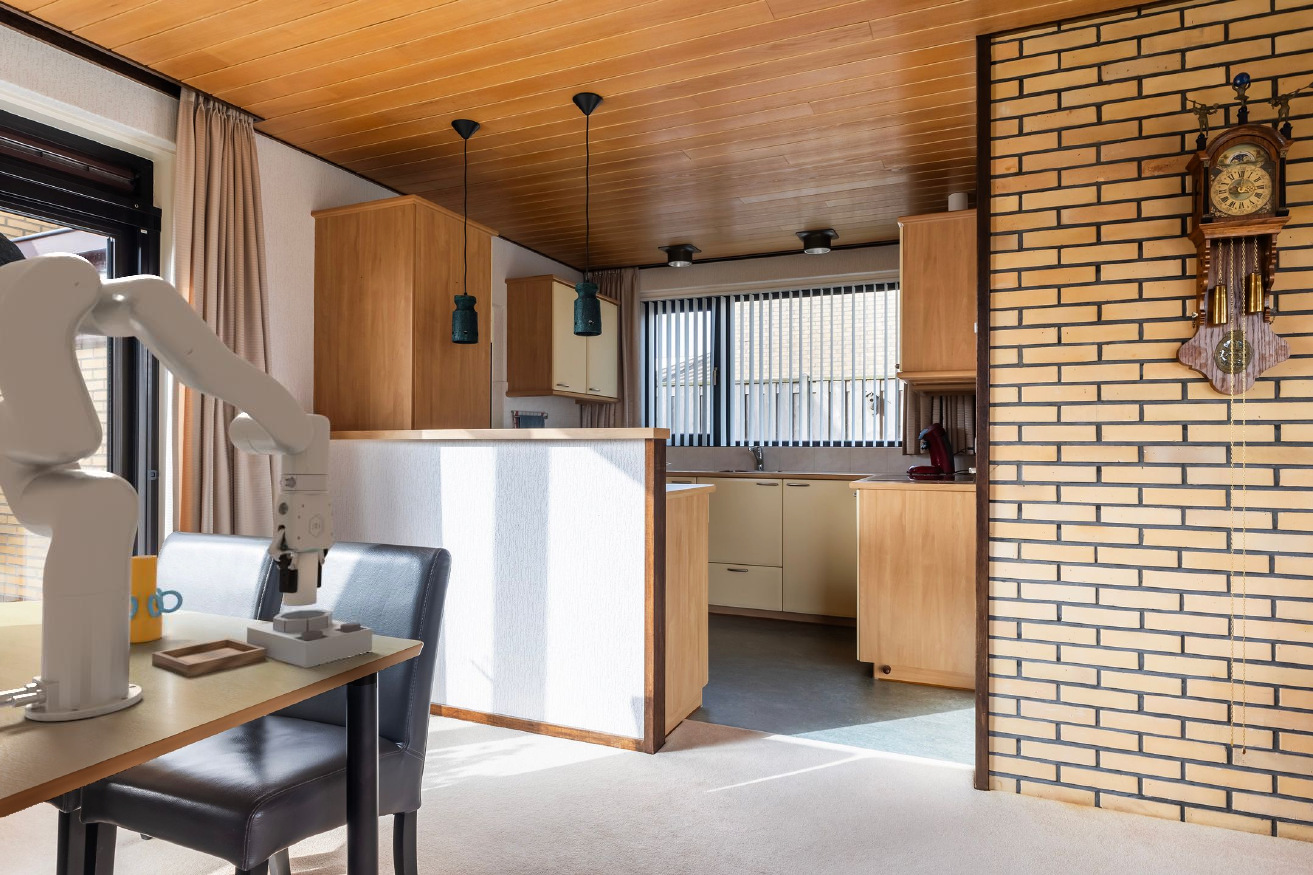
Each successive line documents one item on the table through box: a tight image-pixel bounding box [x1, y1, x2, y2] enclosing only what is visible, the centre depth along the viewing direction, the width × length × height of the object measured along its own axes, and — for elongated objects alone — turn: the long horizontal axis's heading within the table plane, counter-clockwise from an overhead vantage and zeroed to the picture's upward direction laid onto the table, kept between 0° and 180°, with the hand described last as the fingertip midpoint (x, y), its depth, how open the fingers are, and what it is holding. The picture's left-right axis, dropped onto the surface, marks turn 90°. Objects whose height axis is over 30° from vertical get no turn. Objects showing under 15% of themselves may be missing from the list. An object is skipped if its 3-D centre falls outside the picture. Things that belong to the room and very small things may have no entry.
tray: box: [151, 637, 267, 677], centre depth 123 cm, size 12×12×2 cm
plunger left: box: [301, 631, 323, 642], centre depth 123 cm, size 3×3×4 cm
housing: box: [246, 608, 373, 669], centre depth 129 cm, size 12×18×6 cm, turn 56°
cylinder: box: [130, 554, 184, 644], centre depth 137 cm, size 12×10×15 cm
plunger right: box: [340, 622, 362, 633], centre depth 129 cm, size 3×3×4 cm
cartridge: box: [282, 547, 320, 607], centre depth 130 cm, size 6×6×11 cm
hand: (300, 588), depth 130 cm, fingers closed on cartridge, 5 cm apart
